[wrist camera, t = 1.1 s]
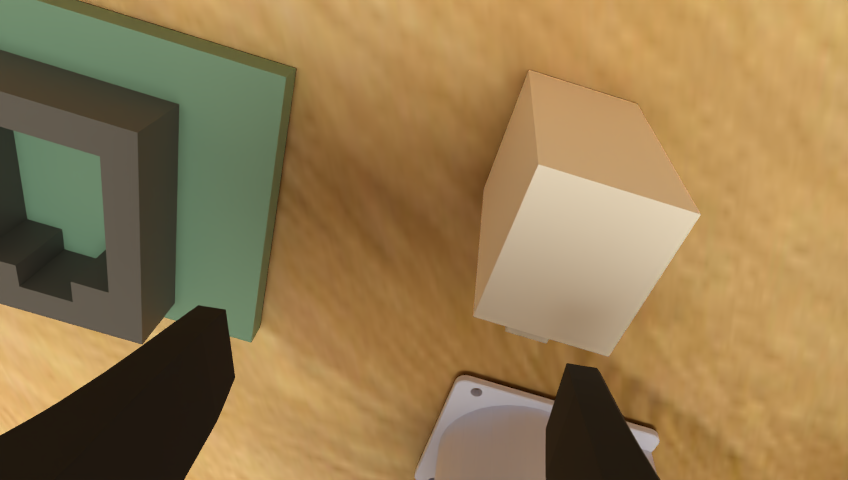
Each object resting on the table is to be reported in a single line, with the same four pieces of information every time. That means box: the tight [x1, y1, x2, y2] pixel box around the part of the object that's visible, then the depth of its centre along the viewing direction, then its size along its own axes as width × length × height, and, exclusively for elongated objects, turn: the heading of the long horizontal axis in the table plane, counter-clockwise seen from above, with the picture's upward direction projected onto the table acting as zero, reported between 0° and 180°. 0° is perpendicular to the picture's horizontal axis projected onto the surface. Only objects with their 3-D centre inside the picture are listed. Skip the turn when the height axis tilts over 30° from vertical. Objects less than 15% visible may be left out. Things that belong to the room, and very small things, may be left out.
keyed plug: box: [473, 70, 701, 357], centre depth 16 cm, size 4×5×7 cm, turn 165°
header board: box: [0, 0, 296, 344], centre depth 20 cm, size 14×12×4 cm
